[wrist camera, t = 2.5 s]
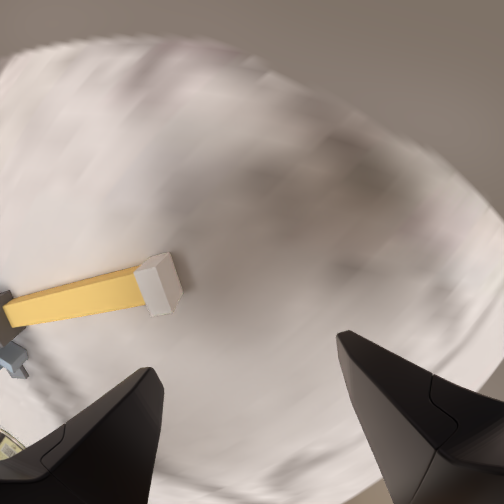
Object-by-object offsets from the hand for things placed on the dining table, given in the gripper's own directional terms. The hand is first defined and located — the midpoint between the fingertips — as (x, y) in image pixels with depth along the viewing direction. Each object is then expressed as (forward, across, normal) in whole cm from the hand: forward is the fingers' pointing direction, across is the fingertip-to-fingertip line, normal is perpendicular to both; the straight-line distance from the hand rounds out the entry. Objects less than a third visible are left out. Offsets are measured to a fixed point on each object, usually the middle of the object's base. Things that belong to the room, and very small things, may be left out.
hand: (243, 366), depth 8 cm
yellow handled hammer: (+11, +16, 0) cm, 20 cm away
